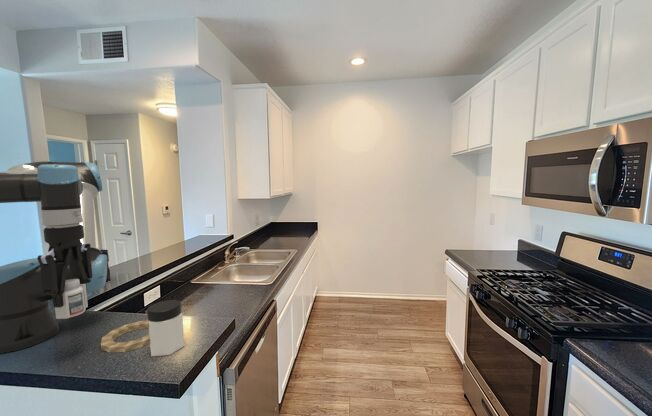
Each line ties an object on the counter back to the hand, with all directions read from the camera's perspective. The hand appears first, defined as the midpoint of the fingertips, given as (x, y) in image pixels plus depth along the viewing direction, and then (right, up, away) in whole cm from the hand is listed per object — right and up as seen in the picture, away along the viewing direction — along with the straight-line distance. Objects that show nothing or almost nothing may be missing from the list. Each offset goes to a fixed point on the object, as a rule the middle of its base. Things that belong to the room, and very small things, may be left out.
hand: (72, 312), depth 75 cm
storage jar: (-42, -8, +60) cm, 74 cm away
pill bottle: (0, -1, 0) cm, 1 cm away
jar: (+23, -11, +3) cm, 26 cm away
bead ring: (+10, -11, +9) cm, 17 cm away
